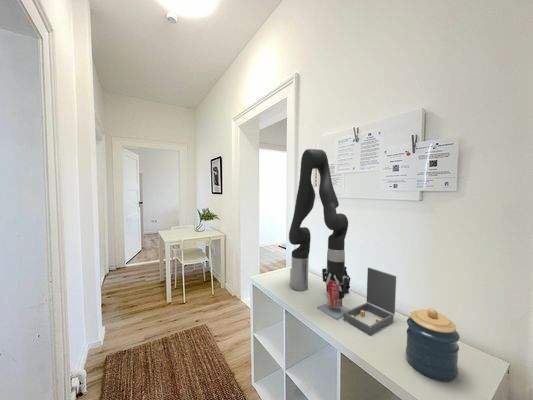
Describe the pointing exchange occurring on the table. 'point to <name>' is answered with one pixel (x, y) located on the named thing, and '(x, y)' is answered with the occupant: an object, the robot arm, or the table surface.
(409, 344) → the canister
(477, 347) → the table surface
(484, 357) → the table surface
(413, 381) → the table surface
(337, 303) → the beverage can
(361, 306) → the case
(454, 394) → the table surface
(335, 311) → the rubber mat
